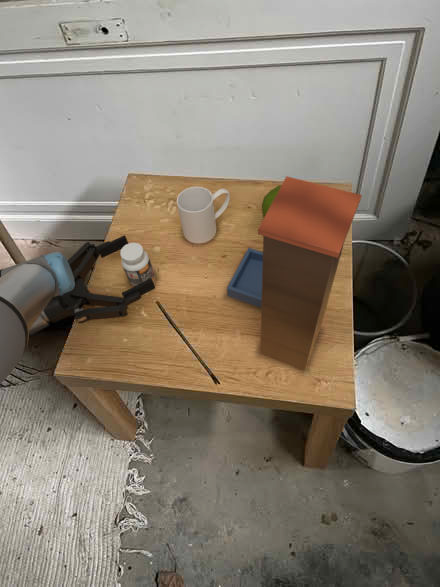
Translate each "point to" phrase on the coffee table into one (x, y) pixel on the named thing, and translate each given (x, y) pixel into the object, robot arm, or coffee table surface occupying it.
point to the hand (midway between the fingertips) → (139, 260)
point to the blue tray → (248, 279)
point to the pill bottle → (136, 264)
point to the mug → (199, 213)
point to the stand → (300, 265)
